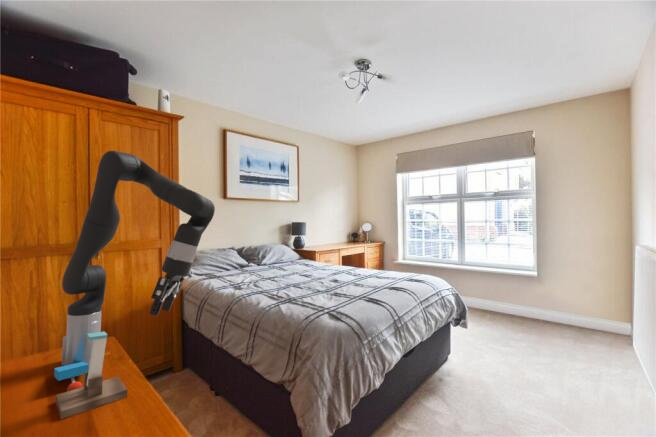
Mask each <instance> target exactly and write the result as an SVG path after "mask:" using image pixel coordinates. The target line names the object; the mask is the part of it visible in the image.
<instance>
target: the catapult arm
mask: <svg viewBox="0 0 656 437" xmlns="http://www.w3.org/2000/svg"><path fill="white" fill-rule="evenodd" d="M87 338H88V339H89V340H93V346H92V352H91V359H90V364H89V371H88V378H87V386H88V379H90V378H93V377H97V376H100V375H102V372H103V367H104V366H103V365H104V357H105V352H106V348H107V347H106V346H107V339H108V333H107V332H106V331H104V330H103V331H101V332H96V333H89V334H87Z"/></svg>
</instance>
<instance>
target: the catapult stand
mask: <svg viewBox="0 0 656 437" xmlns="http://www.w3.org/2000/svg"><path fill="white" fill-rule="evenodd" d="M83 376H84V379H83V386H82V387H81V388H78V389H74V390H71V391H68V392H67V391H65V392H61V393H58V394H56V395H55V397H56V398H55V403H56V408H57V410H58V414H59V417H60V420H64V419H67V418H70V417H73V416H75V415H78V414H81V413H83V412H88V411H89V410H93V409H95V408H98V407H101V406H104V405H107V404H109V403H112V402H116V401H118V400H121V399H124V398H127V397H128V388H127V387H126V386H125V384H124V382H123V380H121V379H120V376H115V377H112V378H109V379H105V380H104V376H103V374H101V375H100V376H97V377H93V378H90V379H88V386H87V378H88V371H86V372H85V374H83Z"/></svg>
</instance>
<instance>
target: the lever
mask: <svg viewBox="0 0 656 437" xmlns="http://www.w3.org/2000/svg"><path fill="white" fill-rule="evenodd" d="M89 365H90V364H87V363H85V362H79V363H74V364H70V365H66V366H65V365H61V366H58V367H55V368H53V369H54V370H53V372H54V373H53V377H54V378H55V379H56V380H57V381H58V382H59V381H62V380H66V379H71V383H70V384H69V385H68V386H67V387H66V388H67V390H66V392H68V391H71V390H74V389H78V388H81V387H83V383H82V382H81V381H76V378H75V377H78V376H81V375H82V376H83V375H84V374H85V372H86V371H89Z"/></svg>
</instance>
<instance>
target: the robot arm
mask: <svg viewBox="0 0 656 437" xmlns="http://www.w3.org/2000/svg"><path fill="white" fill-rule="evenodd" d="M95 178H96V179H95V183H94V189H93V193H92V196H91V199H90V203H89V206H88V209H87V211H86V215H85V217H84V221H83V223H82V226H81V230H80V234H79V237H78V241H77V244H76V246H75V249H74V252H73V254H72V255H71V257H70V260H69V261H68V264H67V265H66V268H65V272H64V274H63V276H62V284H61V285H62V286H61V288H62V290H63V292H64V293H65V294H66V295H70V296H73V295H74V296H75V295H79V294H80V295H81V294H83V295H82V297H80V298H79V299H78V300H76V301H74V302H72V303H71V304H69V306H68V307H67V317H66V335H65V336H63V337H62V348H61V349H62V351H61V353H62V354H61V366H66V365H70V364H74V363H79V362H85V363H87V364H89V365H90V359H91V352H92V346H93V340H89V339H88V338H87V334H89V333H96V332H102V330H101V328H102V309H103V304H104V302H105V294H106V286H107V274H106V270H105V268H104V267H103V266H102V265H100V264H92V265H90V263H91V262H92V260H93V259H94V257H95V256H96V255H97V254H98V253H99V252H100V251H102V250H103V249H104V247H106V246H107V245H108V244H109V243H110V242H111V241H112V240H113V238H114V237H115V235H116V233H117V229H118V227H119V224H120V221H121V215H120V211H119V209H118V208H119V207H118V205H117V203H116V199H115V198H116V197H115V195H116V190H117V187H118V183H119V181H122V182H134V183H137V184H140V185H143V186H145V187H147V188H149V190H150V191H151V193H152V194H153V195H154V196H155V197H157V198H158V199H159V200H161V201H164V202H165V203H166V204H169V205H171V206H173V207H174V208H176V209H178V210H179V211H181V212H182V213H184V214H186V215H188V216H190V218H189V219H188V221H187V222H185V223H181V224H180V225H179V226H178V227H177V230H176V233H175V235H174V237H173V240H172V242H171V244H170V246H169V248H168V251H167V253H166V256H165V259H164V261H163V263H162V266H161V272H163V273H165V276H163V277H162V276H159V278H158V280H157V282H156V284H155V286H154V289H153V292H152V294H151V299H152V300H153V302H152V305H151V307H150V310H149V315H151V316H155V317H157V316H158V315H159V314H160V311H161V310H162V311H166V312H169V311H171V308H172V305H173V303H174V300H175V299H176V298H177V297H179V294H180V291H181V289H182V285H183V283H184V280H185V277H188V276H189V273H190V271H191V269H192V268H191V267H192V266H193V262H194V260H195V257H196V254H197V250H198V246H199V243H200V241H201V238H202V235H203V233H204V232H205V231H206V229H207V227H208V226H209V225H210V223H211V222H212V220H213V218H214V216H215V210H216V208H215V204H214V202H213V201H212V200H210V199H208V198H207V197H205V196H203V194H200V193H198V192H196V191H193V190H191V189H189V188H187V187H185V186H184V185H182V184H180V183H178V182H176V181H175V180H173V179H171V178H168V176H167V177H166V176H164V175H163V174H161V173H159V172H158V171H157V170H155V169H154V168H153V167H151V166H150V165H148V163H146V162H145V161H144V160H143V159H141V158H140V157H138V156H137V155H135V154H130V153H126V152H123V151H117V150H108V151H106V152H104V154H103V155H102V156H101V158H100V161H99V163H98V167H97V173H96V177H95Z"/></svg>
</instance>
